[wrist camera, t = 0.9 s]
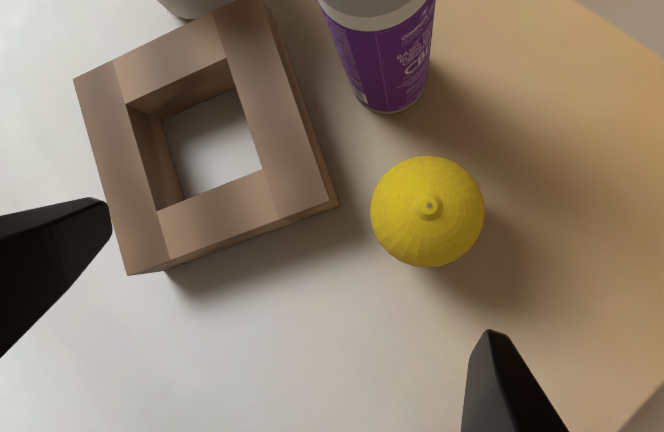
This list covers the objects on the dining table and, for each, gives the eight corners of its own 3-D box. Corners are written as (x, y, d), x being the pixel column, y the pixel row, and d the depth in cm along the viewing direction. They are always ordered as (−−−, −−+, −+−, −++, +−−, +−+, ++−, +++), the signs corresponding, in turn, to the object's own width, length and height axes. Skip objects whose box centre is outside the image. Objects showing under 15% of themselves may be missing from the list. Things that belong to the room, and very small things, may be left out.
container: (419, 119, 24) (433, -63, 9) (345, 109, 25) (252, -71, 10) (434, 44, 24) (470, -252, 10) (359, 37, 25) (288, -243, 10)
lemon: (478, 254, 23) (513, 263, 15) (384, 268, 24) (372, 283, 16) (461, 162, 24) (487, 125, 16) (370, 179, 25) (351, 152, 17)
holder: (163, 271, 27) (127, 276, 24) (113, 98, 28) (72, 79, 25) (340, 205, 25) (329, 200, 21) (276, 22, 26) (256, -11, 23)
